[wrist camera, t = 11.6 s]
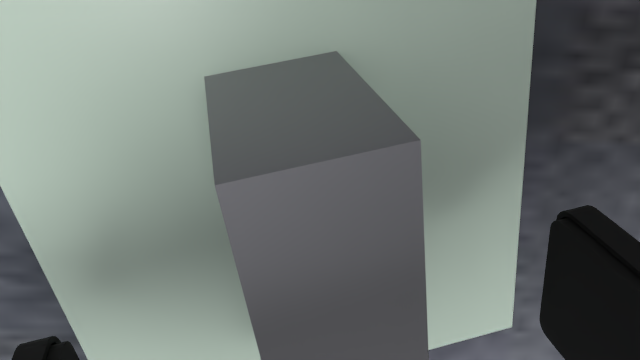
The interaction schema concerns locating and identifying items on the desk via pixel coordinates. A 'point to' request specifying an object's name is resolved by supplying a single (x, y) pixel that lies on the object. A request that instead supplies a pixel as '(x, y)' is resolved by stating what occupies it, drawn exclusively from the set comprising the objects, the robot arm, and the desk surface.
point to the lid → (269, 171)
